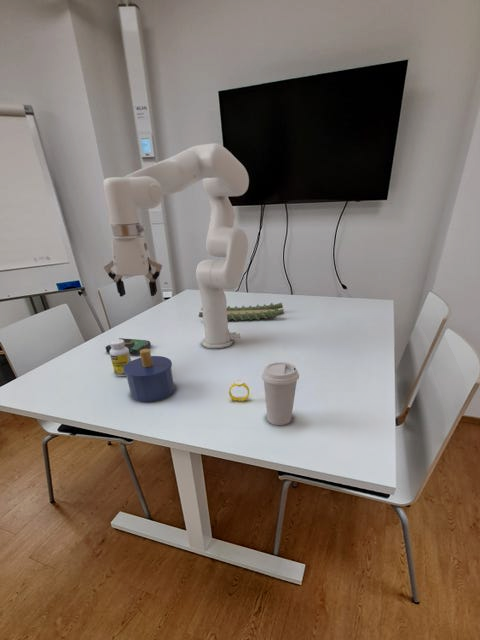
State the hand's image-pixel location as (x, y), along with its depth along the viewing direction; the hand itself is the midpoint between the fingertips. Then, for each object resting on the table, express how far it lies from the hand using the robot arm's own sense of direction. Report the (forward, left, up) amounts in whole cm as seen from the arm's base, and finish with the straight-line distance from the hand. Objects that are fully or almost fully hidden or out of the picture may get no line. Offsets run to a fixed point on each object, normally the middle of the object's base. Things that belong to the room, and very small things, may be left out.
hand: (138, 295), depth 108 cm
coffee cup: (-38, +33, -27) cm, 58 cm away
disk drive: (+13, -27, -27) cm, 40 cm away
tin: (-1, +11, -27) cm, 30 cm away
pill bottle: (+11, -5, -27) cm, 30 cm away
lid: (-1, +11, -19) cm, 22 cm away
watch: (-28, +21, -27) cm, 45 cm away
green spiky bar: (-36, -59, -27) cm, 74 cm away
